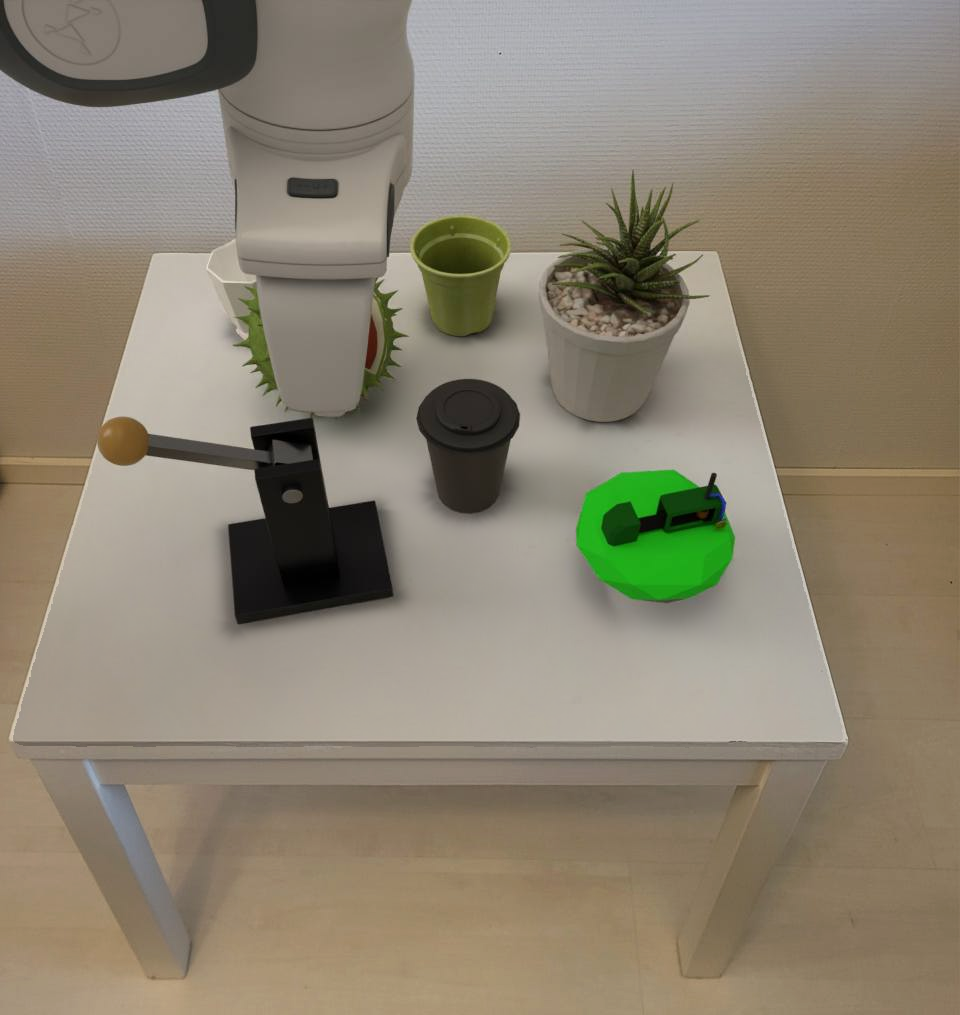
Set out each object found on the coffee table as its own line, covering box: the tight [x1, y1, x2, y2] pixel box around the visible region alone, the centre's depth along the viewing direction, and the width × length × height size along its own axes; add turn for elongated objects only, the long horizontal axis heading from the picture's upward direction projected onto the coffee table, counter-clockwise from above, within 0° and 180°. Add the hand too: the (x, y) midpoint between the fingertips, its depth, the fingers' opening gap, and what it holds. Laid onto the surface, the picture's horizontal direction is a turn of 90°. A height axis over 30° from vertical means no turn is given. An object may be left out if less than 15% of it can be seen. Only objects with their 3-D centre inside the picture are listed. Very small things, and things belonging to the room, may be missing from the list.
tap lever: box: [96, 416, 313, 471], centre depth 65 cm, size 14×3×3 cm, turn 102°
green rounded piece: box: [575, 469, 736, 604], centre depth 73 cm, size 12×12×11 cm
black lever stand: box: [227, 417, 394, 625], centre depth 71 cm, size 12×9×14 cm
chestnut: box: [232, 277, 410, 421], centre depth 84 cm, size 15×14×15 cm
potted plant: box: [538, 169, 711, 423], centre depth 82 cm, size 13×14×20 cm
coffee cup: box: [416, 378, 521, 515], centre depth 78 cm, size 8×8×10 cm
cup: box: [205, 238, 257, 341], centre depth 92 cm, size 7×10×8 cm
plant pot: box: [409, 214, 512, 337], centre depth 92 cm, size 9×9×9 cm
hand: (333, 348), depth 57 cm, fingers open, 8 cm apart
